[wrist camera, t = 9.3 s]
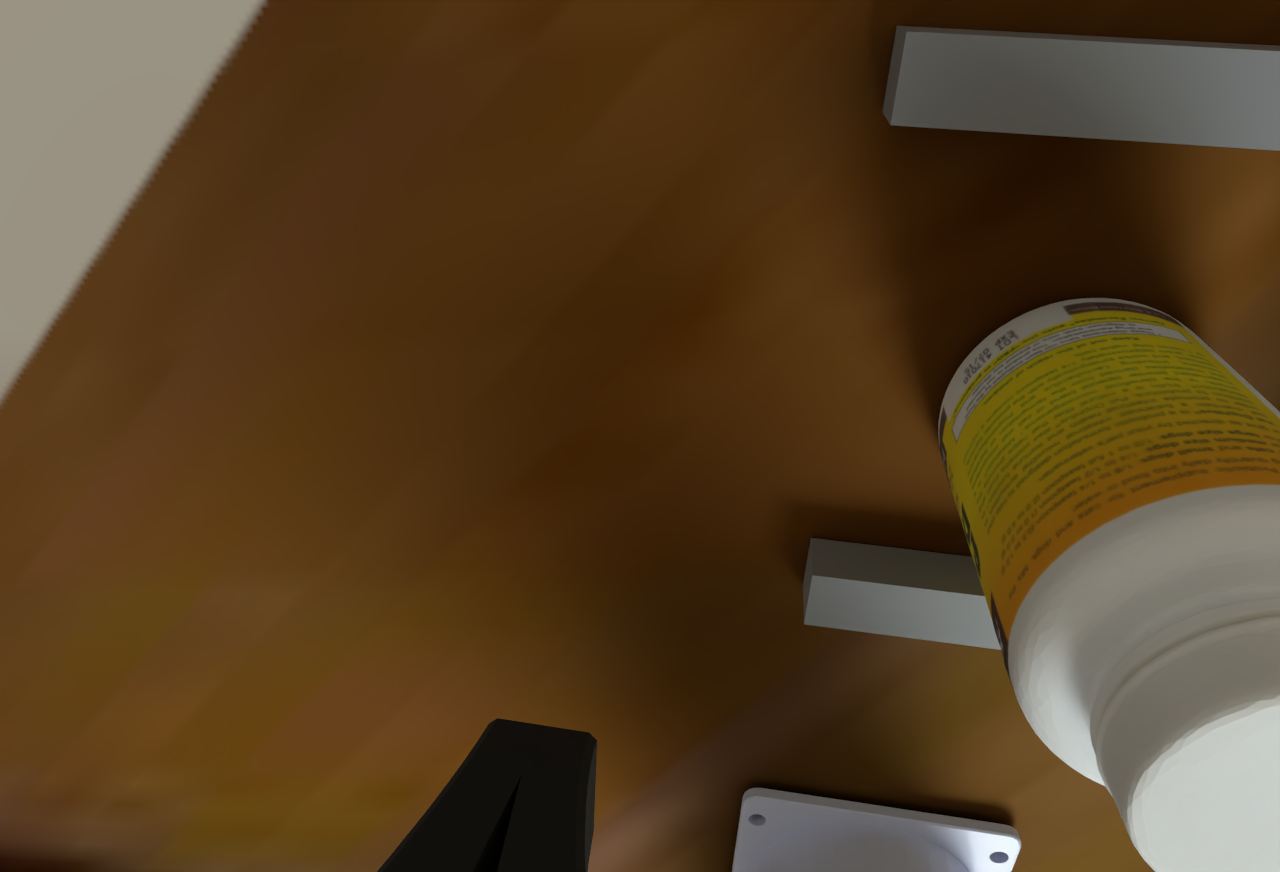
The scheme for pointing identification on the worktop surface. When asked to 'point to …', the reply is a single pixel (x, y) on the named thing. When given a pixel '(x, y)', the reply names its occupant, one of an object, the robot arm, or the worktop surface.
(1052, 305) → the supplement bottle
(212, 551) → the worktop surface
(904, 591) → the bay
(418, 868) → the robot arm
